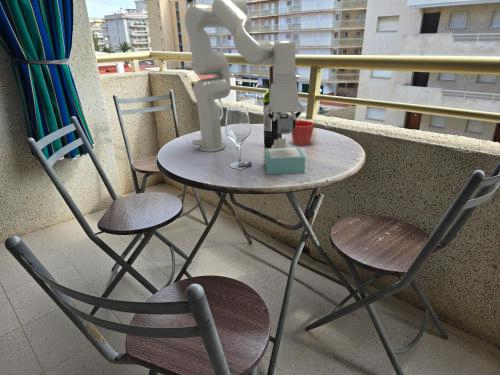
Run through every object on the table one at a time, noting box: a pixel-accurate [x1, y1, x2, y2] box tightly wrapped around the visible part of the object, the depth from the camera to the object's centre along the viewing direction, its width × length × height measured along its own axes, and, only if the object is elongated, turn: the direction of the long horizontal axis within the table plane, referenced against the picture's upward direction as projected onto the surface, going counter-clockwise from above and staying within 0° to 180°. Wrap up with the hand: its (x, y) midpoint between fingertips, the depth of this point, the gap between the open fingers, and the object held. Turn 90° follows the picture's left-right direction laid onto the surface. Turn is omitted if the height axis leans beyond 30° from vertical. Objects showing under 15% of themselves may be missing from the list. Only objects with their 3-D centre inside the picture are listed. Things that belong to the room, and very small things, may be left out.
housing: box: [276, 113, 293, 135], centre depth 116 cm, size 11×6×6 cm, turn 2°
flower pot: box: [290, 120, 315, 146], centre depth 150 cm, size 11×11×10 cm
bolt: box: [238, 161, 253, 168], centre depth 127 cm, size 5×2×2 cm, turn 94°
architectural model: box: [270, 137, 289, 149], centre depth 138 cm, size 3×7×7 cm, turn 109°
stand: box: [263, 147, 306, 175], centre depth 122 cm, size 14×12×6 cm
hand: (284, 130), depth 117 cm, fingers closed on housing, 5 cm apart
